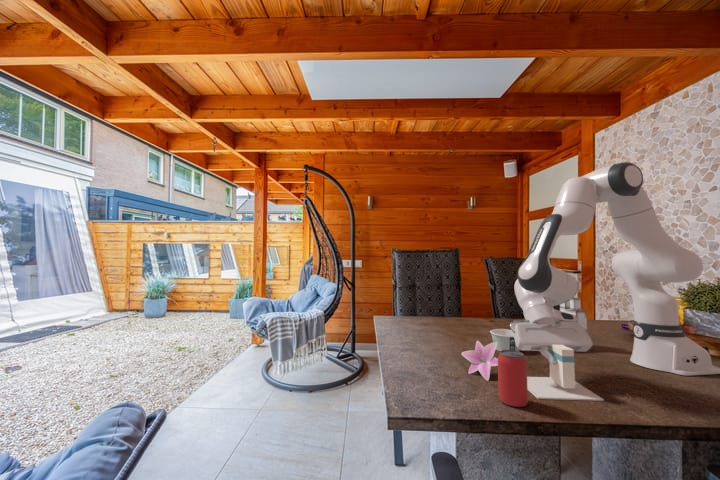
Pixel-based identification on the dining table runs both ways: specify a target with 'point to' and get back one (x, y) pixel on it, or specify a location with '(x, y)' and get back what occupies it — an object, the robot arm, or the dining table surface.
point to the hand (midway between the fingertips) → (562, 364)
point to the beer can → (512, 378)
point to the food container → (504, 339)
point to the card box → (563, 366)
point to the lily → (482, 358)
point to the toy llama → (575, 311)
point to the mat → (558, 390)
